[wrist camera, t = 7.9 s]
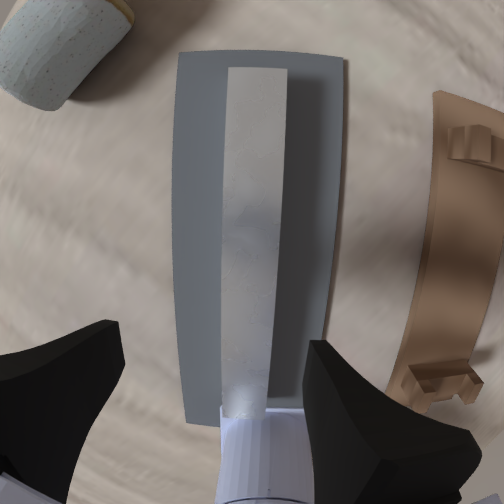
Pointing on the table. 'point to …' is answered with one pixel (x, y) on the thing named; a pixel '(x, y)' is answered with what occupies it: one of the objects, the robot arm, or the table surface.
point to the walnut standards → (454, 256)
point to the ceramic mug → (58, 47)
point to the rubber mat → (291, 229)
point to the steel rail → (250, 234)
